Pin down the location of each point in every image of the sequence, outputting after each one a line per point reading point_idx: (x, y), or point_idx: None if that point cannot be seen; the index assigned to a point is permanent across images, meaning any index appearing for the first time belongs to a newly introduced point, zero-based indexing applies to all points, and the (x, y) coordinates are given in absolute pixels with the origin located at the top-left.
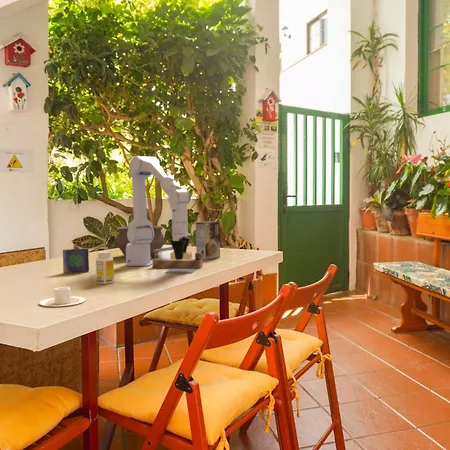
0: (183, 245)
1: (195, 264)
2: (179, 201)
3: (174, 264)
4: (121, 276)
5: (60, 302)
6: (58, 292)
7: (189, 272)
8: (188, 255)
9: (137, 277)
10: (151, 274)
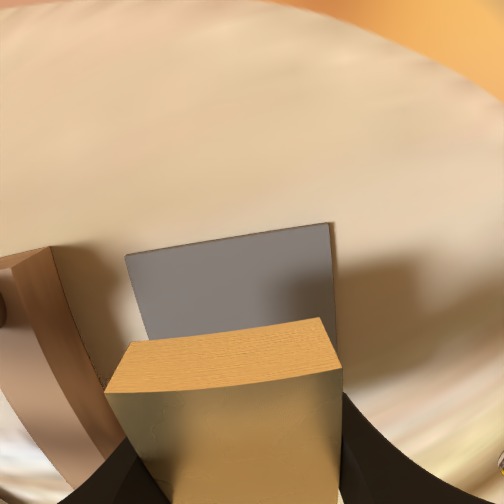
0: (471, 497)
1: (46, 299)
2: None
3: (113, 438)
4: None
5: None
6: None
7: (329, 247)
8: (332, 355)
9: (454, 441)
10: None
